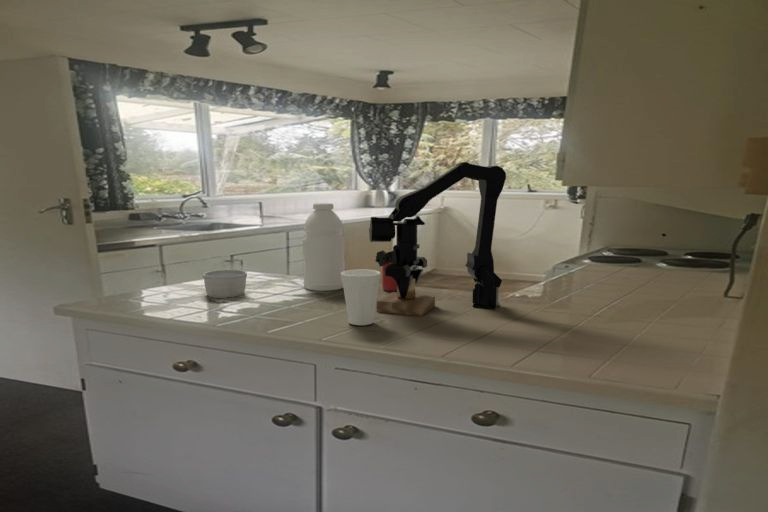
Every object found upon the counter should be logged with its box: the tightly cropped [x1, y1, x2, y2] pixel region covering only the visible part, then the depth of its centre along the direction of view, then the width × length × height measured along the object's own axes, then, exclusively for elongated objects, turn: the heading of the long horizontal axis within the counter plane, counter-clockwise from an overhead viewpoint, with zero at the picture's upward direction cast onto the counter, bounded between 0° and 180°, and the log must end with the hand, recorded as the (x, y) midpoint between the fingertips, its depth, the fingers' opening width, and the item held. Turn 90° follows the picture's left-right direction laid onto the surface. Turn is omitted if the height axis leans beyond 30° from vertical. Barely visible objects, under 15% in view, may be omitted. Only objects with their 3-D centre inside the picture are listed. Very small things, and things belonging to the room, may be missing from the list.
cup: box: [341, 268, 382, 326], centre depth 133 cm, size 10×10×13 cm
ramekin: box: [202, 269, 248, 299], centre depth 166 cm, size 13×13×7 cm
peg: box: [396, 278, 416, 300], centre depth 148 cm, size 5×5×8 cm
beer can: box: [381, 262, 397, 293], centre depth 173 cm, size 7×7×12 cm
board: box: [376, 291, 436, 317], centre depth 148 cm, size 13×12×3 cm
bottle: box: [302, 202, 346, 292], centre depth 176 cm, size 14×14×28 cm
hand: (406, 296), depth 148 cm, fingers closed on peg, 5 cm apart
